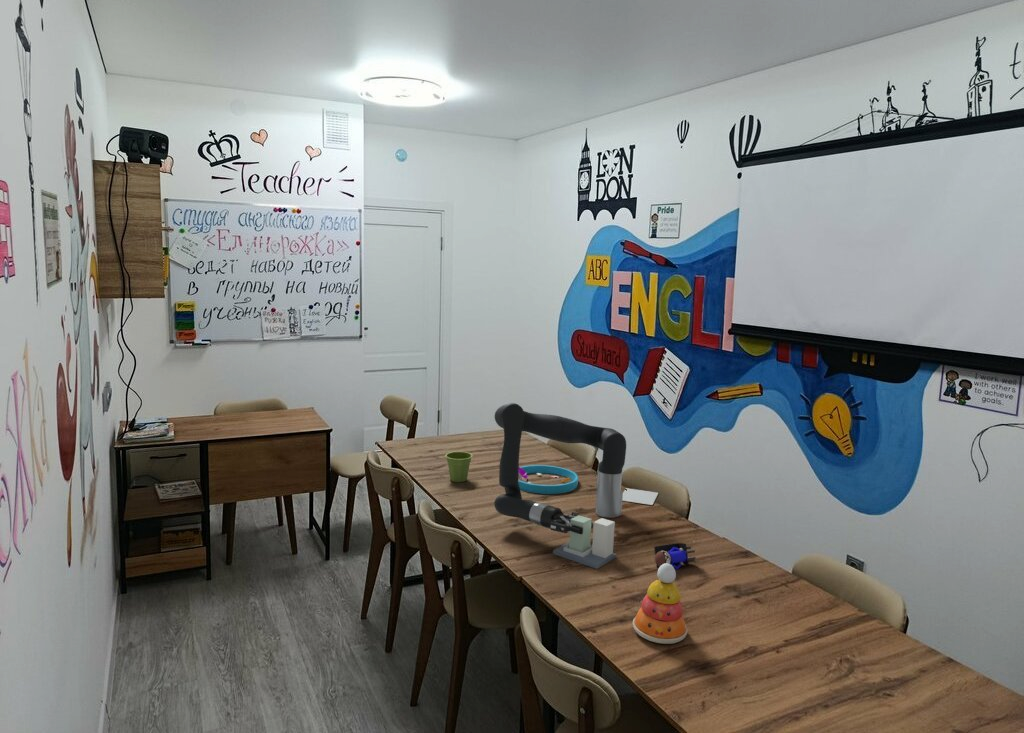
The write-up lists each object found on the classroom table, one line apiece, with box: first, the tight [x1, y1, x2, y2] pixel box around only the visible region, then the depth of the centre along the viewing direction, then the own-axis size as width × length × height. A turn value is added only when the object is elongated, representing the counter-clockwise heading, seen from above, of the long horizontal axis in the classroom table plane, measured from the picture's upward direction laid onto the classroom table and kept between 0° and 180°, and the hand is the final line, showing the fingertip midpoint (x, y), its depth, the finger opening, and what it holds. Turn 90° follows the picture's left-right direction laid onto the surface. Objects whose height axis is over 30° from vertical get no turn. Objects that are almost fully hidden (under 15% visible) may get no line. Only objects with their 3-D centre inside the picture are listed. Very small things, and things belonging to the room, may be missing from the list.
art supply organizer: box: [518, 464, 579, 495], centre depth 308 cm, size 30×30×6 cm
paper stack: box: [622, 487, 659, 506], centre depth 300 cm, size 23×25×1 cm
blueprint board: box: [552, 541, 617, 570], centre depth 233 cm, size 12×17×2 cm
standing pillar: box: [592, 517, 616, 558], centre depth 232 cm, size 5×5×11 cm
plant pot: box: [445, 451, 473, 483], centre depth 306 cm, size 12×12×11 cm
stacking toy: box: [632, 563, 688, 645], centre depth 185 cm, size 14×14×20 cm
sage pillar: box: [569, 514, 592, 553], centre depth 234 cm, size 5×5×11 cm
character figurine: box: [653, 542, 697, 570], centre depth 227 cm, size 8×7×15 cm
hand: (587, 528), depth 232 cm, fingers open, 5 cm apart
